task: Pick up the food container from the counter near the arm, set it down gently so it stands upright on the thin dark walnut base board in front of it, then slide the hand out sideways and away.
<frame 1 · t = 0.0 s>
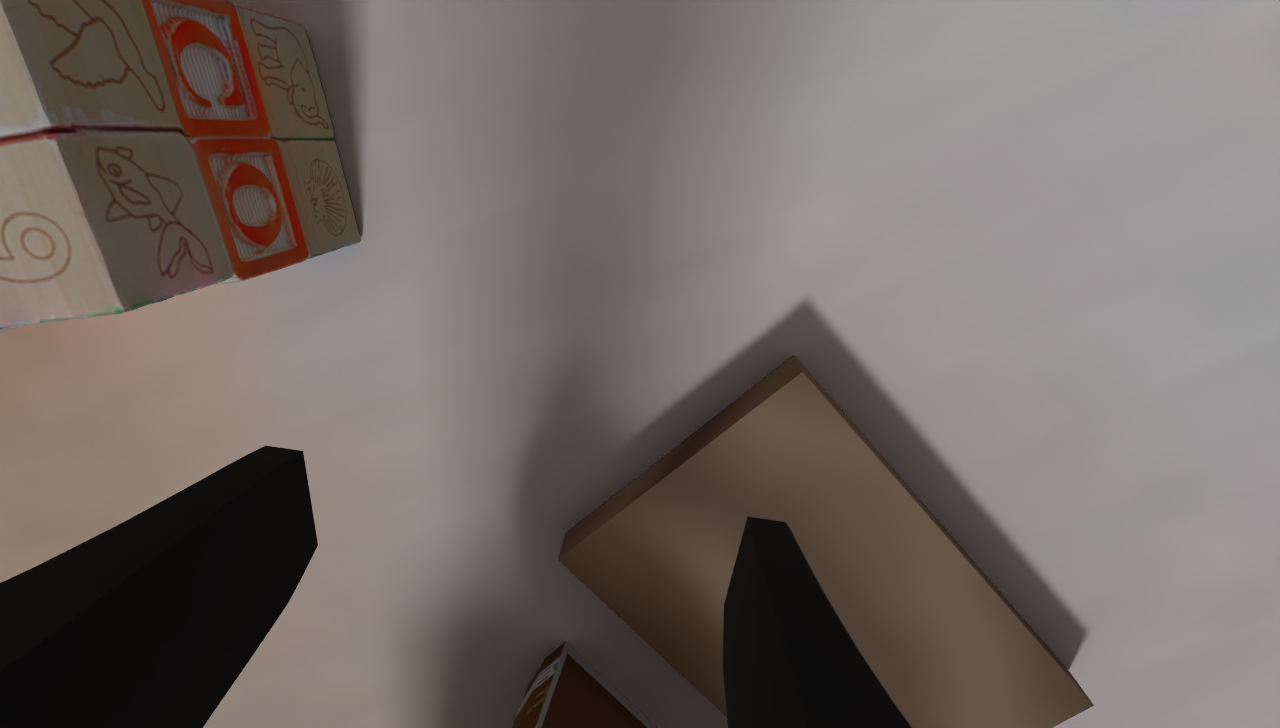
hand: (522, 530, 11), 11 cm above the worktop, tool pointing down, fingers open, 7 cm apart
stack of blocks: (18, 182, 20), on the worktop
walnut base: (821, 603, 23), on the worktop
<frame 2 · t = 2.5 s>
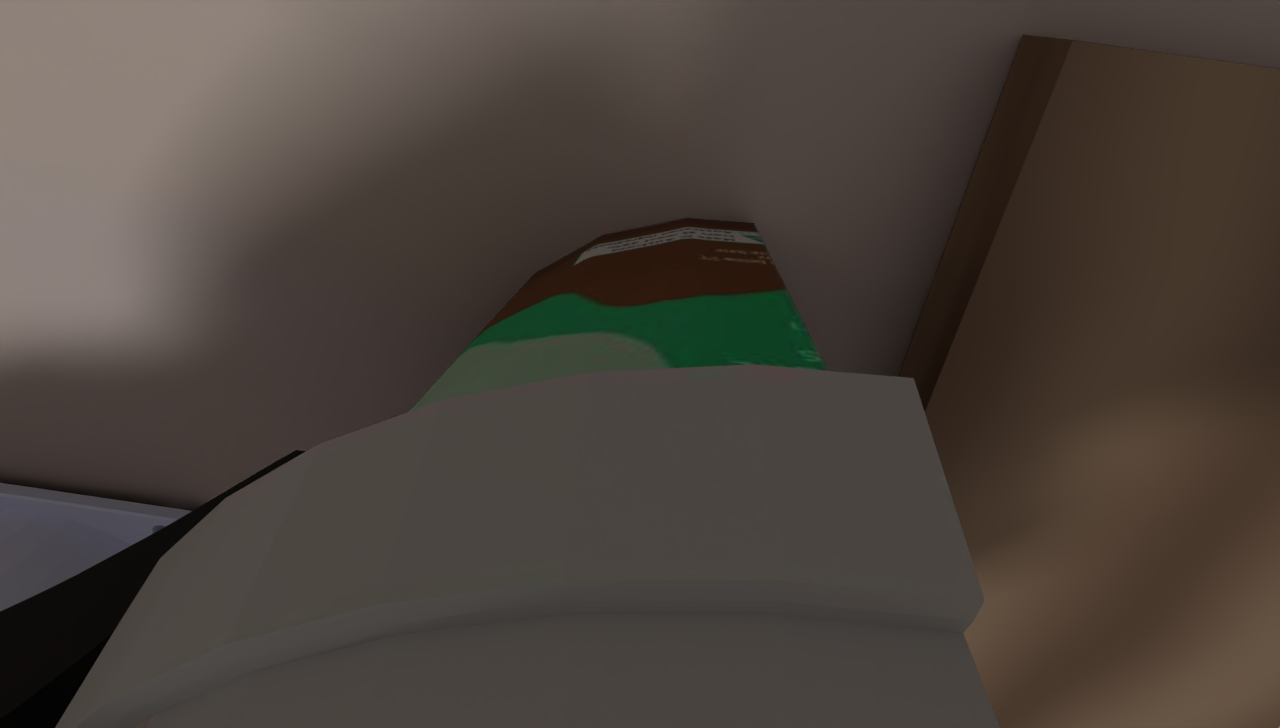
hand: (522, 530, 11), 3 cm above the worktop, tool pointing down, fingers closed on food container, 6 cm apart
food container: (560, 410, 14), on the worktop, touching gripper
walnut base: (1107, 495, 14), on the worktop
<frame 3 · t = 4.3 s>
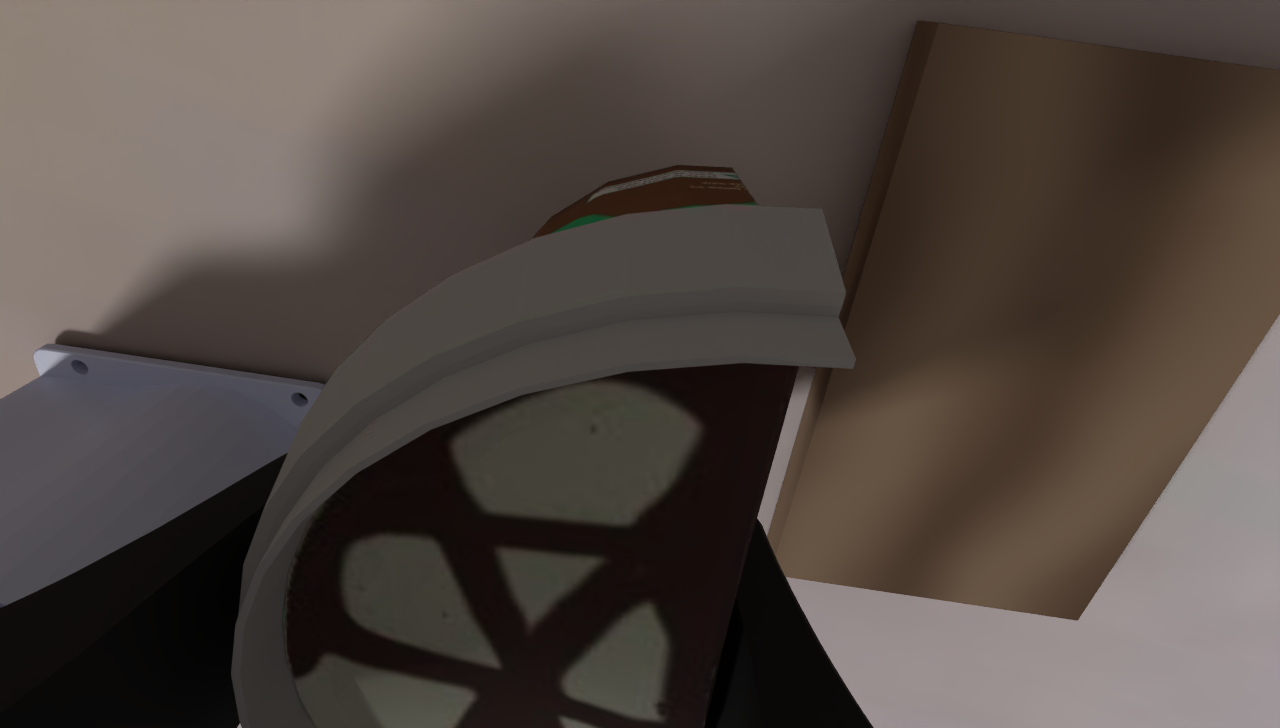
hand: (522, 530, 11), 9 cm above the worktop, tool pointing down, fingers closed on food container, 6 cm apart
food container: (574, 337, 16), point 3 cm above the worktop, touching gripper
walnut base: (1001, 360, 19), on the worktop
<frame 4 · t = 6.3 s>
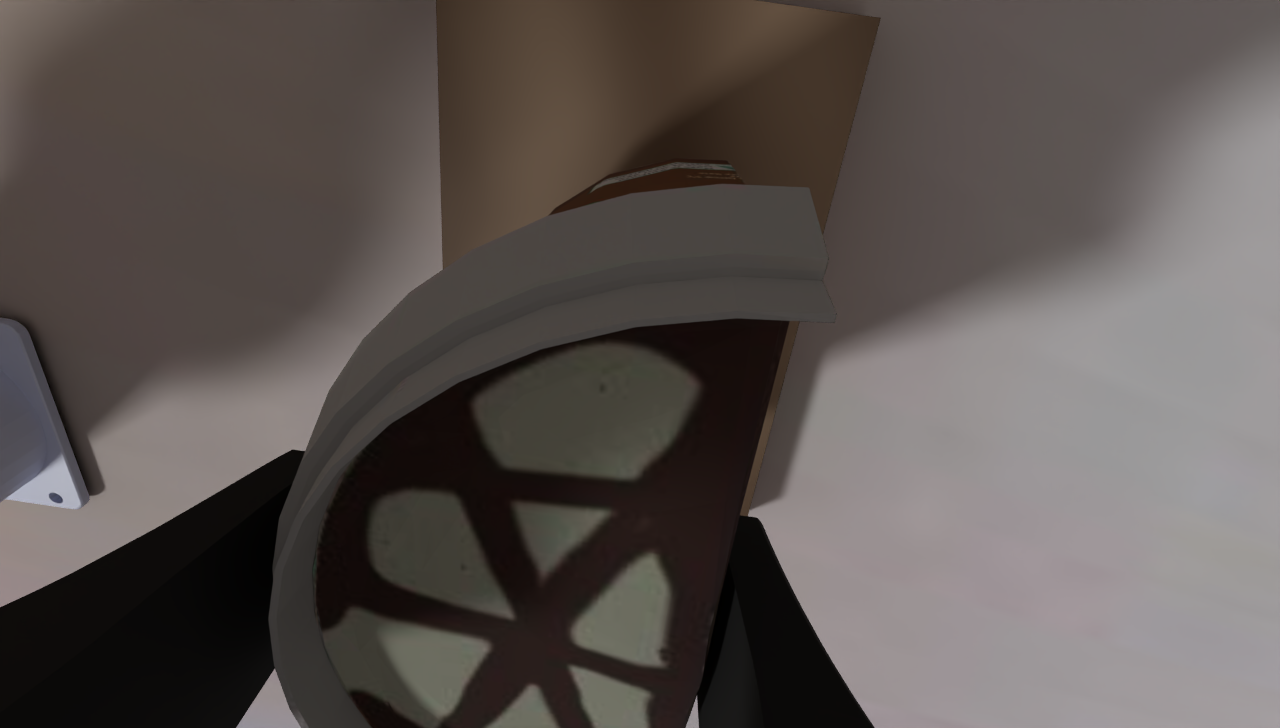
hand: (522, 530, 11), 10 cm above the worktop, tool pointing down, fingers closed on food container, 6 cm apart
food container: (576, 325, 17), point 3 cm above the worktop, touching gripper
walnut base: (624, 291, 20), on the worktop
when the fingers open (10 cm above the worktop, at t = 8.4 s): food container drops 1 cm, resting on walnut base.
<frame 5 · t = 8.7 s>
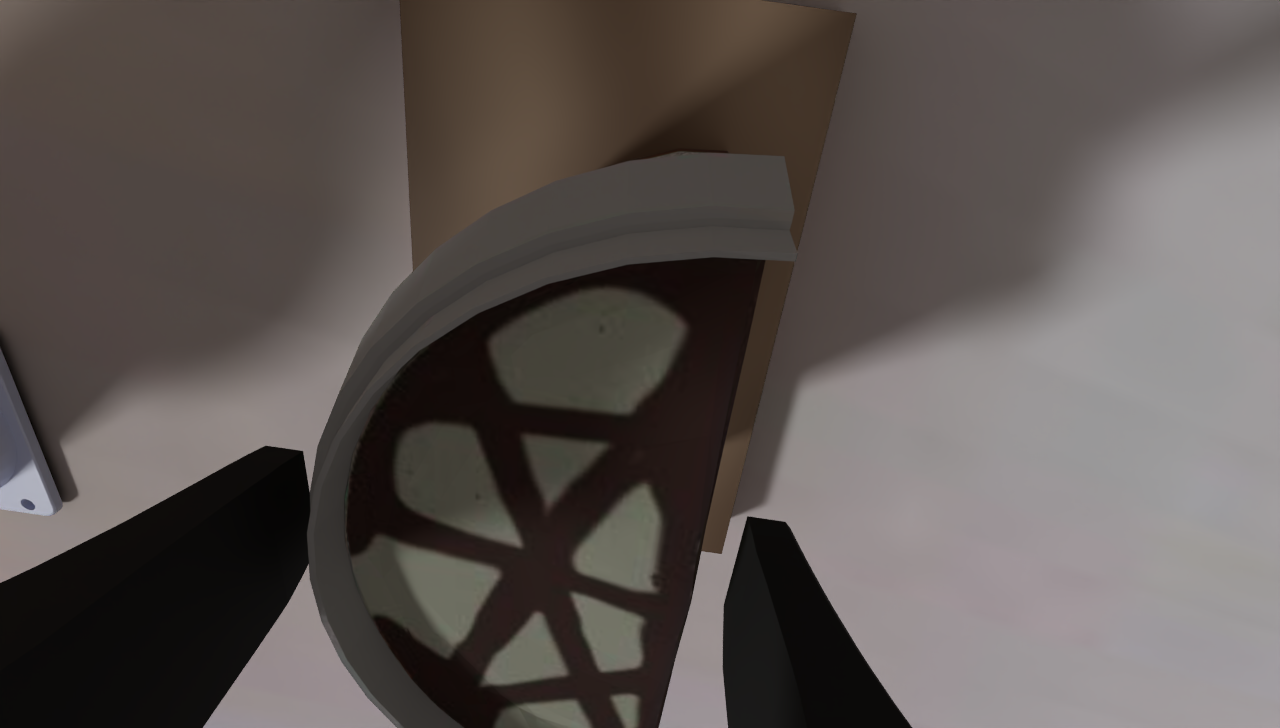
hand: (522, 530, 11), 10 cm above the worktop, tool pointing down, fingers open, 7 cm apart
food container: (585, 306, 18), point 1 cm above the worktop, touching walnut base
walnut base: (600, 294, 19), on the worktop
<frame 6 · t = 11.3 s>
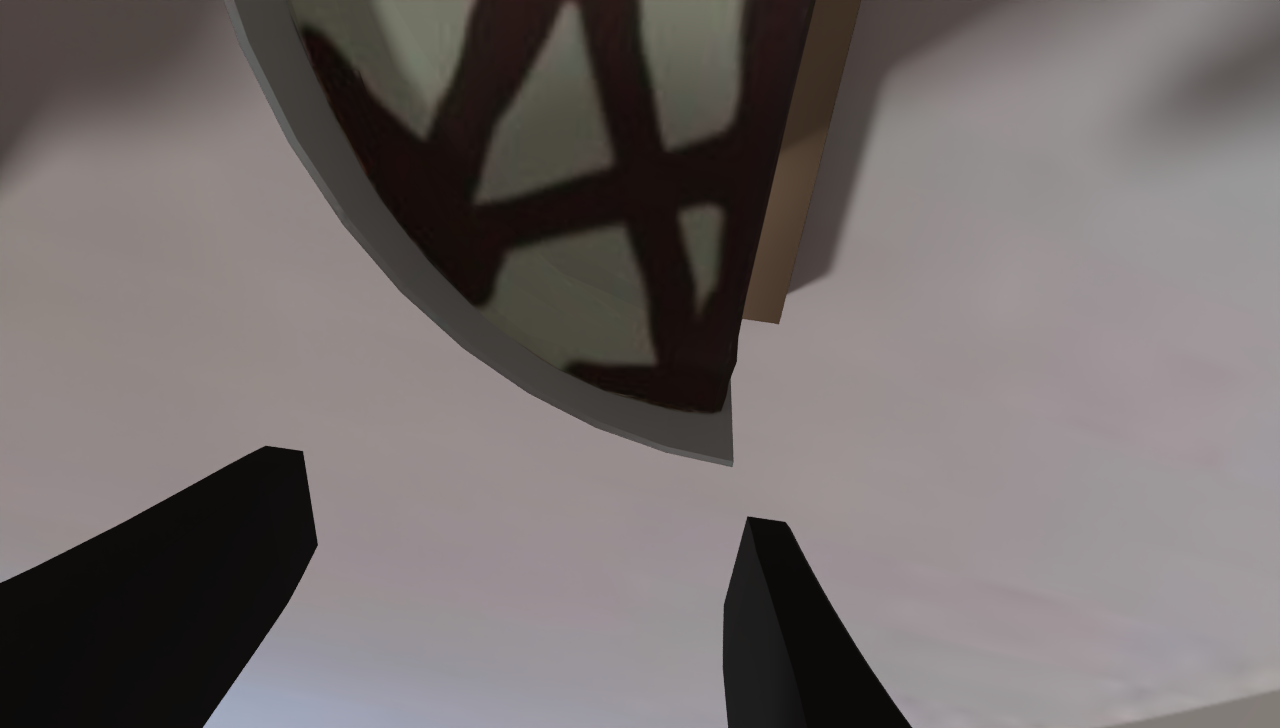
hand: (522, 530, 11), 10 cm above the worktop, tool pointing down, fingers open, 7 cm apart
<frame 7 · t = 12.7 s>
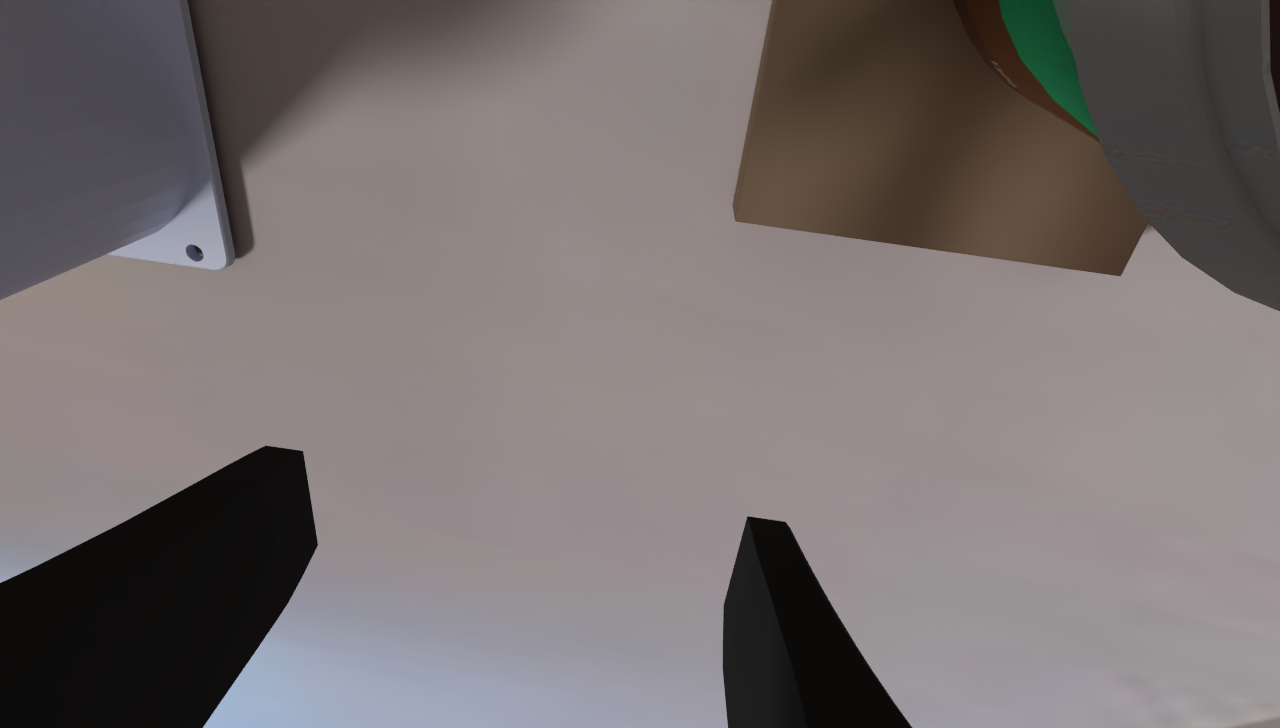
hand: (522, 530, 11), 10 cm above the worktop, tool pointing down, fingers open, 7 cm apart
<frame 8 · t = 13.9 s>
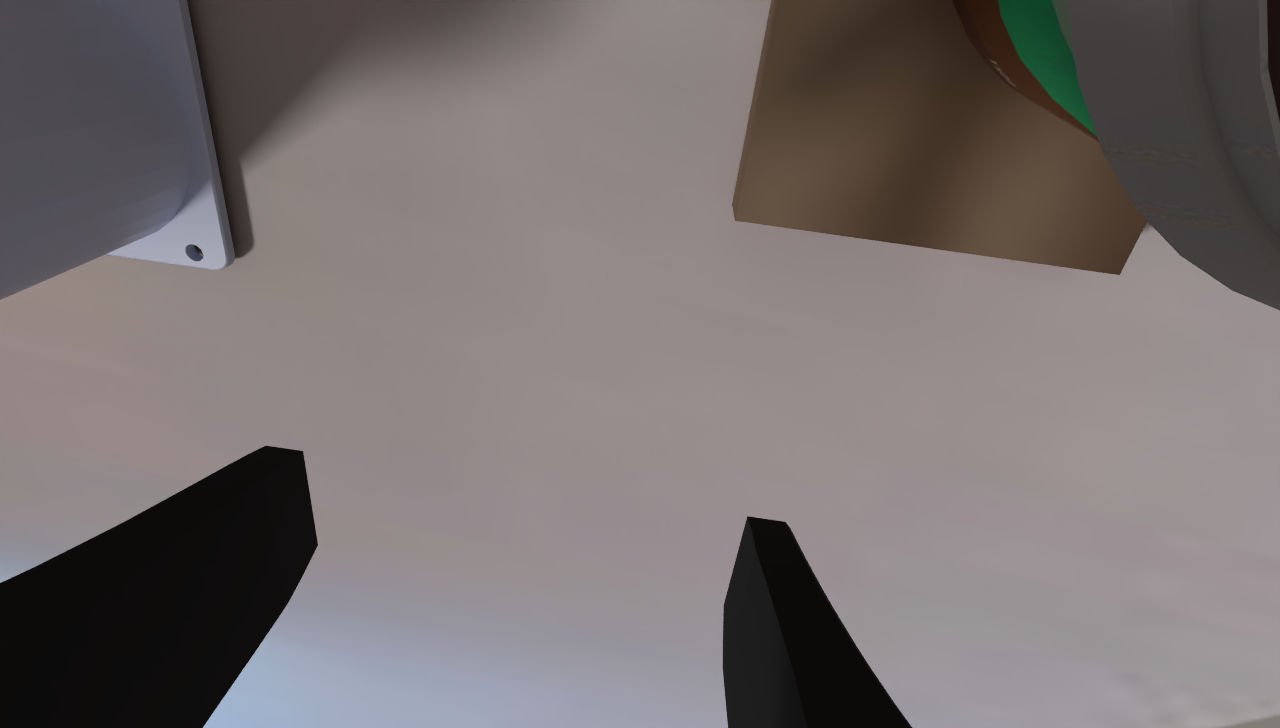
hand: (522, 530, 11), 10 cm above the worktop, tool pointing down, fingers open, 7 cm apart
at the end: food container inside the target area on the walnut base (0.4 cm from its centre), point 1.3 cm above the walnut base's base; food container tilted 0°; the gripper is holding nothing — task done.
